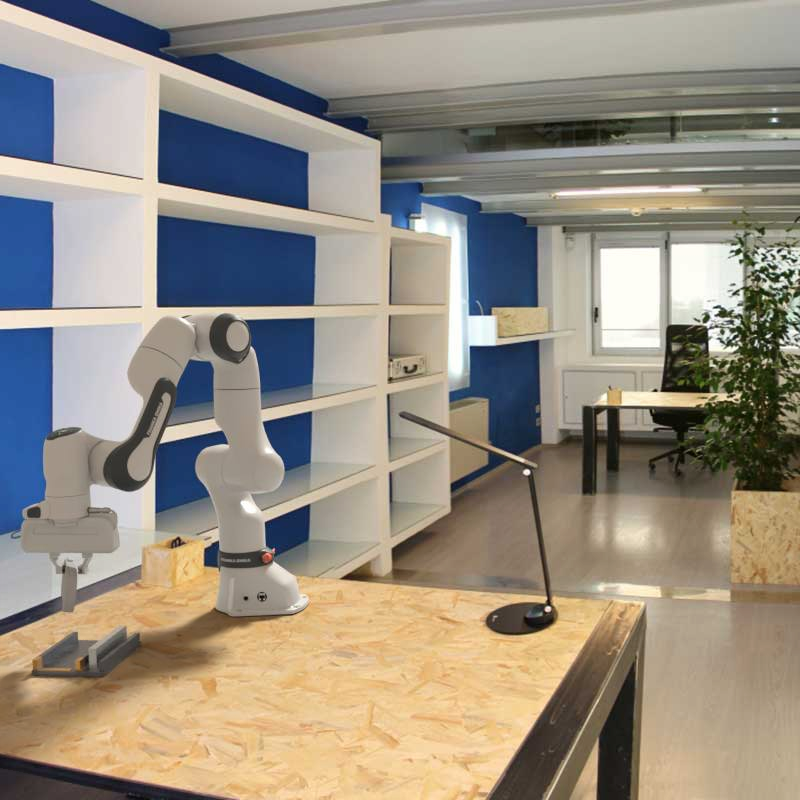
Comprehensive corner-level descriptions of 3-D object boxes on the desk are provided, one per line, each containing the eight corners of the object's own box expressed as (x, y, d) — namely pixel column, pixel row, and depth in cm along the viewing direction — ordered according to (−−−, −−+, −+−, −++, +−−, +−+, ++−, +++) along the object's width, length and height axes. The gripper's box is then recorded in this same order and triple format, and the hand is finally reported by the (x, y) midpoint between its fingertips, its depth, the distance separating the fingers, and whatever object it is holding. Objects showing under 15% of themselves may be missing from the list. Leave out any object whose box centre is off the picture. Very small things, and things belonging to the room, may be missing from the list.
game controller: (74, 617, 202) (79, 575, 201) (62, 617, 201) (67, 575, 201) (71, 591, 220) (75, 553, 220) (60, 591, 219) (64, 553, 219)
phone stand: (141, 645, 220) (139, 622, 220) (103, 677, 201) (102, 652, 201) (75, 644, 222) (73, 621, 222) (32, 675, 203) (30, 650, 203)
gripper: (123, 504, 211) (126, 570, 212) (30, 504, 214) (33, 569, 215) (110, 510, 205) (113, 578, 206) (14, 510, 208) (18, 577, 209)
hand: (72, 573), depth 211 cm, fingers open, 3 cm apart
